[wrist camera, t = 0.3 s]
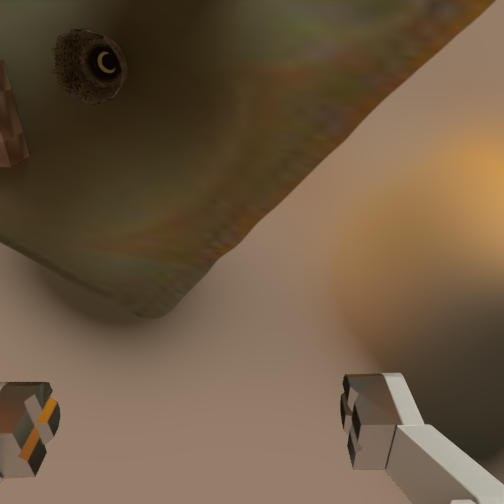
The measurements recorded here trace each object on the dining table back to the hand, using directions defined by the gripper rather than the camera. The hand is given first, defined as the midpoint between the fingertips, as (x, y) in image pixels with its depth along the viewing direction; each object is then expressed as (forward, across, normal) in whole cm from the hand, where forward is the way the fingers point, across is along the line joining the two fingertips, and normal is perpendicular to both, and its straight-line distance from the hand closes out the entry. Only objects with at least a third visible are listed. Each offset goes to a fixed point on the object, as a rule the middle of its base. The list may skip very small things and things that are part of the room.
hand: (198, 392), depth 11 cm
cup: (+47, +16, -5) cm, 50 cm away
